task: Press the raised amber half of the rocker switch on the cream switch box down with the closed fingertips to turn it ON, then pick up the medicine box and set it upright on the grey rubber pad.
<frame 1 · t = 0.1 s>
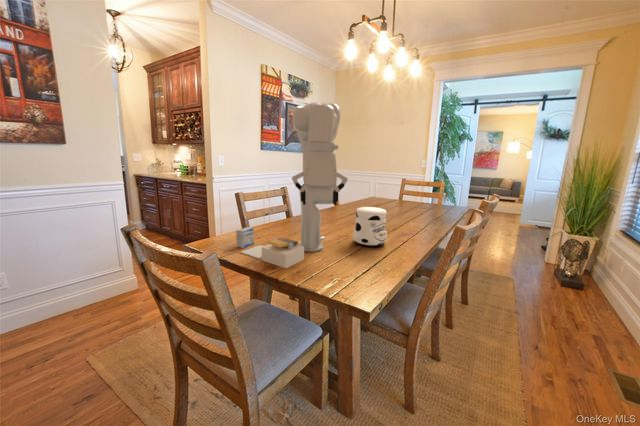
hand: (319, 204, 89), 31 cm above the table, tool pointing down, fingers open, 9 cm apart
milk container: (369, 243, 148), on the table
medicine box: (245, 245, 140), on the table
switch box: (283, 259, 124), on the table
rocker: (282, 243, 122), point 8 cm above the table, hinge at -10.0°
pad: (259, 252, 132), on the table
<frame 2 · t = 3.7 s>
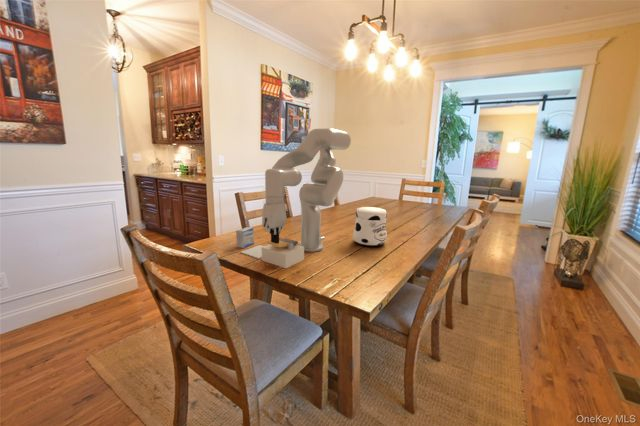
hand: (275, 242, 118), 9 cm above the table, tool pointing down, fingers closed
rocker: (282, 243, 122), point 8 cm above the table, hinge at -9.0°, touching gripper
everything else where it was.
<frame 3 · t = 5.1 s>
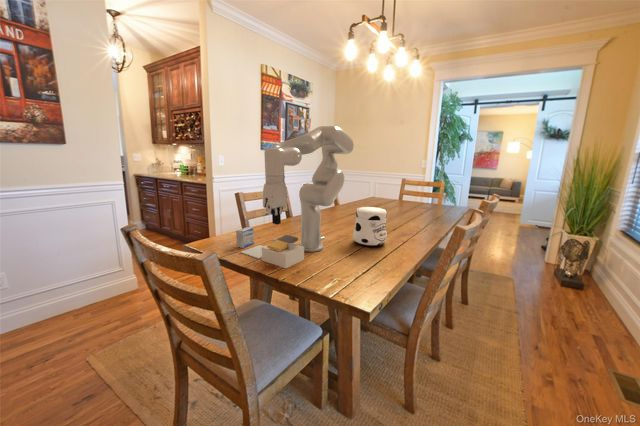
hand: (276, 223, 117), 17 cm above the table, tool pointing down, fingers closed
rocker: (283, 243, 122), point 8 cm above the table, hinge at 8.8°
everything else where it was.
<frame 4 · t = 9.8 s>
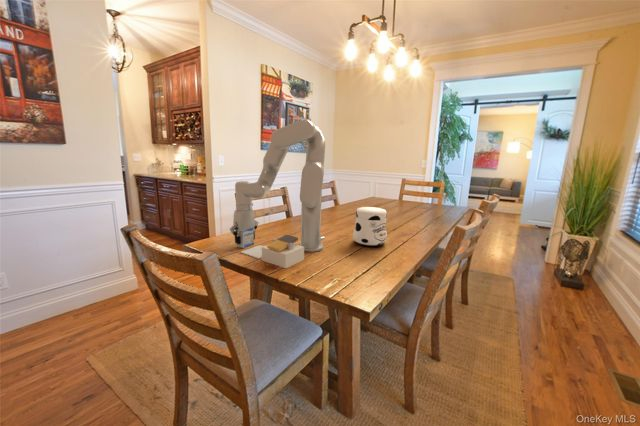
hand: (245, 241, 140), 2 cm above the table, tool pointing down, fingers closed on medicine box, 8 cm apart
medicine box: (245, 245, 140), on the table, touching gripper
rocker: (283, 243, 122), point 8 cm above the table, hinge at 9.5°
everything else where it was.
when the fingers open (4 cm above the table, at t = 16.7 s): medicine box drops 1 cm, resting on pad.
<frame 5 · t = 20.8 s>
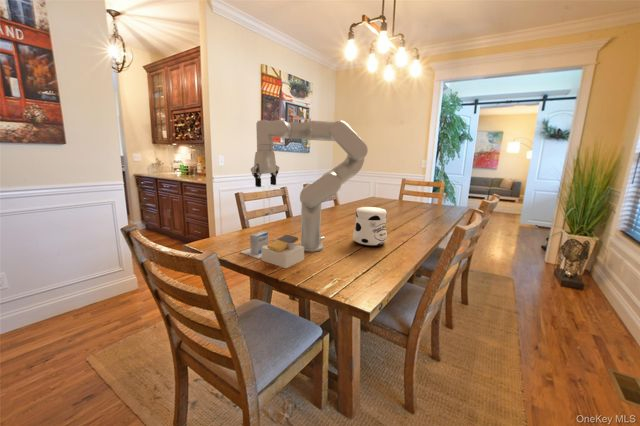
hand: (266, 185, 133), 30 cm above the table, tool pointing down, fingers open, 9 cm apart
medicine box: (259, 251, 132), resting on pad
everything else where it was.
at the end: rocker at +10° (first picture: -10°); medicine box inside the target area on the pad (0.1 cm from its centre), point 0.3 cm above the pad's base; medicine box tilted 0° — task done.
